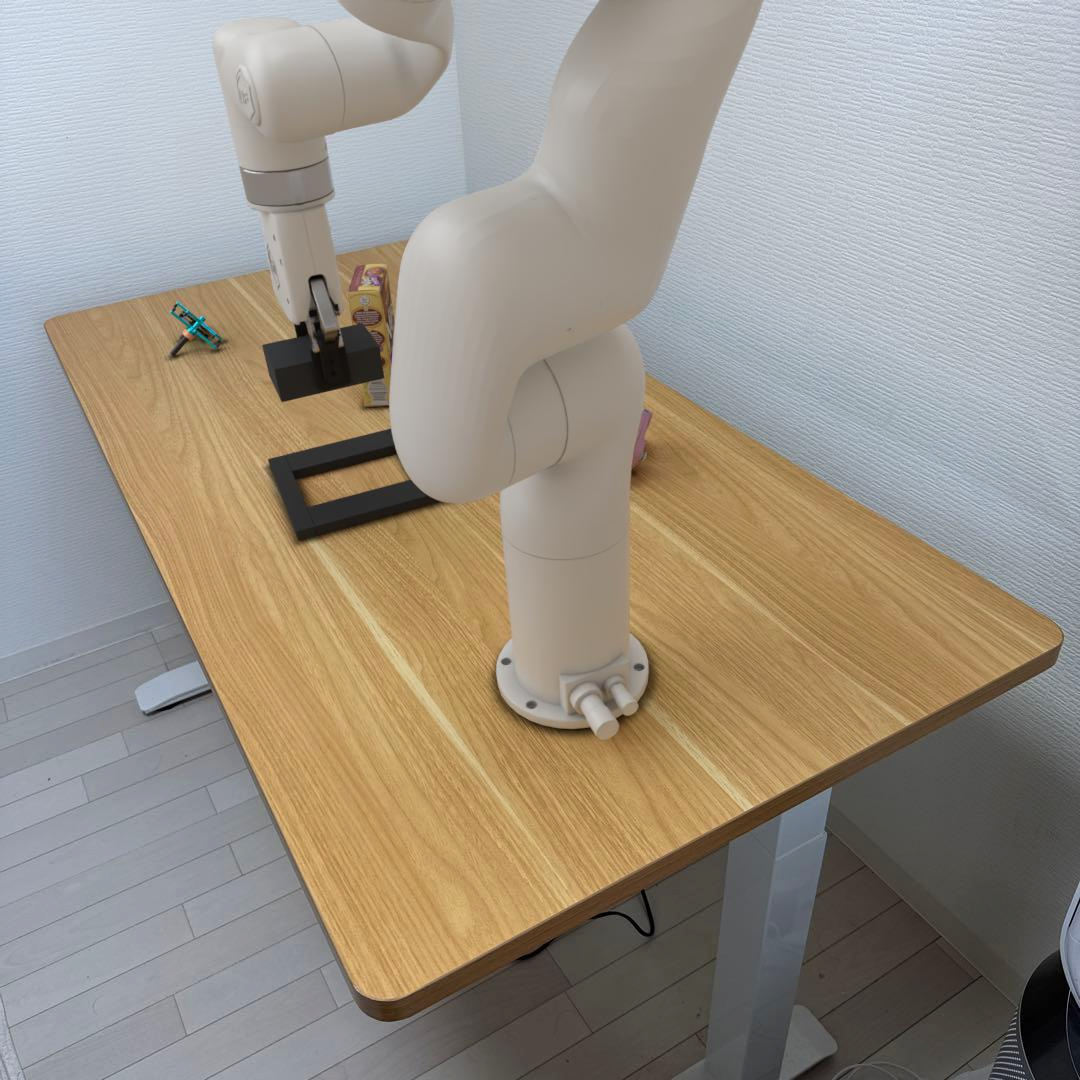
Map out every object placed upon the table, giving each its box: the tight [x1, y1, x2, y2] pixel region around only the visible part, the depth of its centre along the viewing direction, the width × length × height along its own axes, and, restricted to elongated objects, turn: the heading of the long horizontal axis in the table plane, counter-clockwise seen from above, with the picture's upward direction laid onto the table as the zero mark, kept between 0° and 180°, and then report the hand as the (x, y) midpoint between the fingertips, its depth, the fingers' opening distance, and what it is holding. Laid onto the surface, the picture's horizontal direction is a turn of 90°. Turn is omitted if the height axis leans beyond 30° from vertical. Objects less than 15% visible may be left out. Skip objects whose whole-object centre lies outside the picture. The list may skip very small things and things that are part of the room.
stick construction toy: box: [169, 301, 223, 357], centre depth 138 cm, size 12×7×8 cm
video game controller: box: [631, 408, 653, 470], centre depth 105 cm, size 10×5×7 cm, turn 168°
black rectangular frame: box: [267, 428, 441, 541], centre depth 107 cm, size 16×22×1 cm
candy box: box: [346, 263, 395, 408], centre depth 119 cm, size 9×4×15 cm, turn 2°
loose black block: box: [261, 323, 384, 403], centre depth 93 cm, size 6×10×3 cm, turn 114°
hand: (325, 370), depth 93 cm, fingers closed on loose black block, 6 cm apart
